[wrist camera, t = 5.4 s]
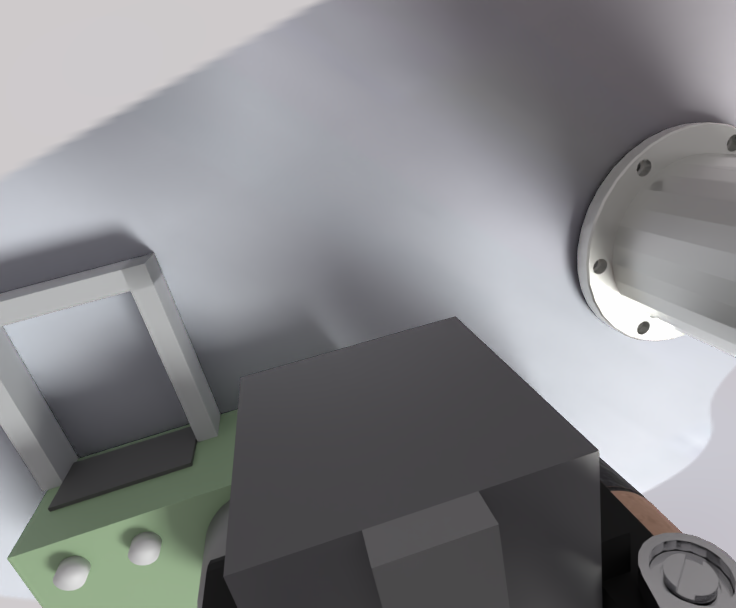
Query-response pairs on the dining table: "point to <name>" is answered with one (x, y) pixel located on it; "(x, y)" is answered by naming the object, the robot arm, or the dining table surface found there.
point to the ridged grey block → (410, 483)
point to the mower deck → (119, 466)
